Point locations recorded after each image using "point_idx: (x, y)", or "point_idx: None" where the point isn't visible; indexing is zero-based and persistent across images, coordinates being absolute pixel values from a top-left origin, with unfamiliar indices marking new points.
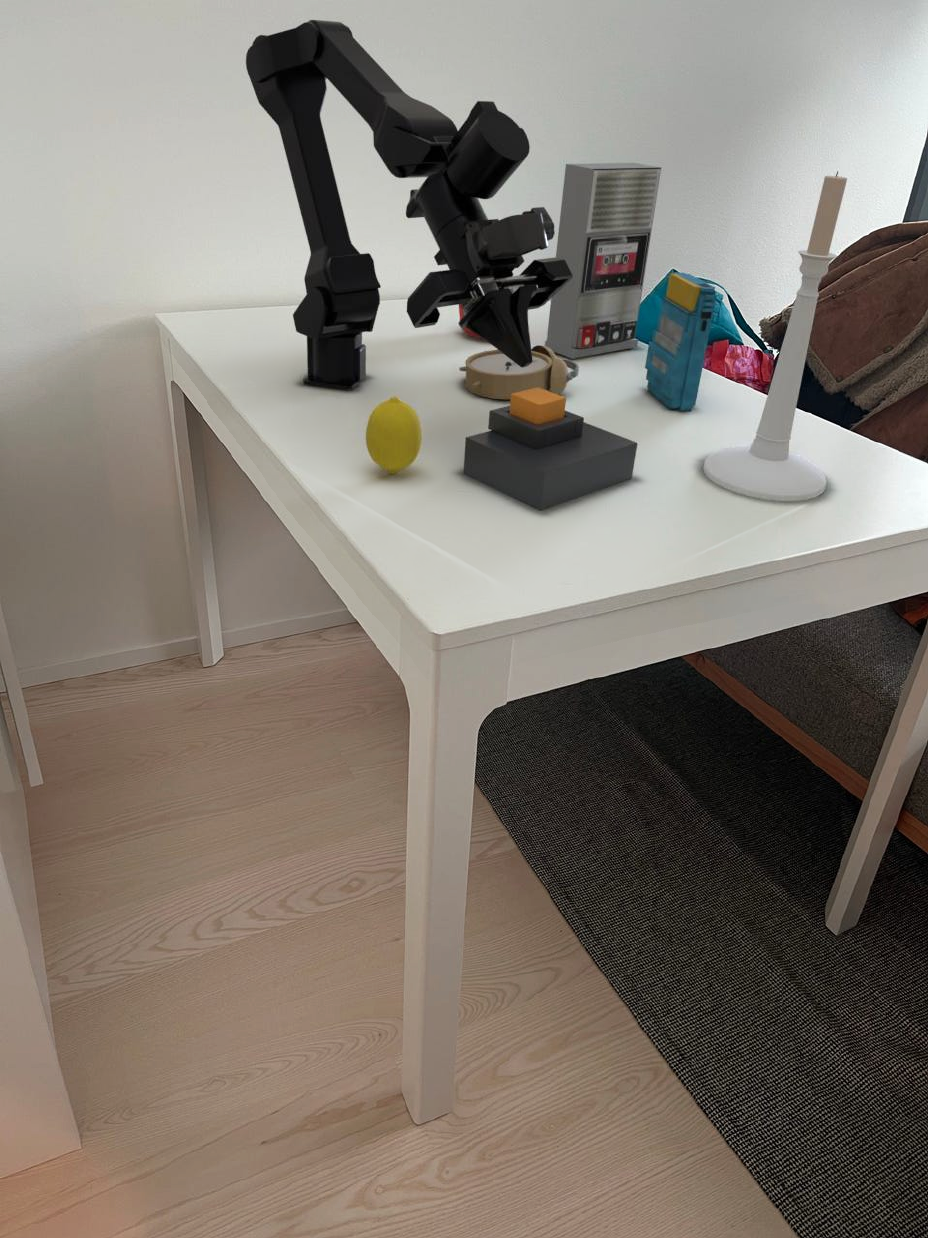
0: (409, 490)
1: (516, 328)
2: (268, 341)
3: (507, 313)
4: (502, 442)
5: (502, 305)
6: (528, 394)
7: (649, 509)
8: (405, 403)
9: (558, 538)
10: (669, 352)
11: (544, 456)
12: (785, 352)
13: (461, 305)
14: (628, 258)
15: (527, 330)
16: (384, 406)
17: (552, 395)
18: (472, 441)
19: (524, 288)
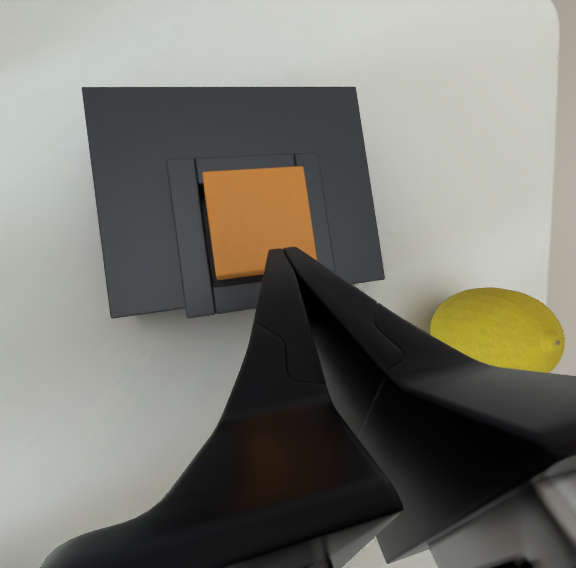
0: (446, 270)
1: (339, 315)
2: None
3: (411, 367)
4: (340, 226)
5: (487, 382)
6: (281, 237)
7: (178, 39)
8: (529, 331)
9: (358, 56)
10: None
11: (313, 136)
12: None
13: None
14: None
15: (266, 315)
16: (563, 337)
17: (226, 202)
18: (380, 261)
19: (321, 493)
